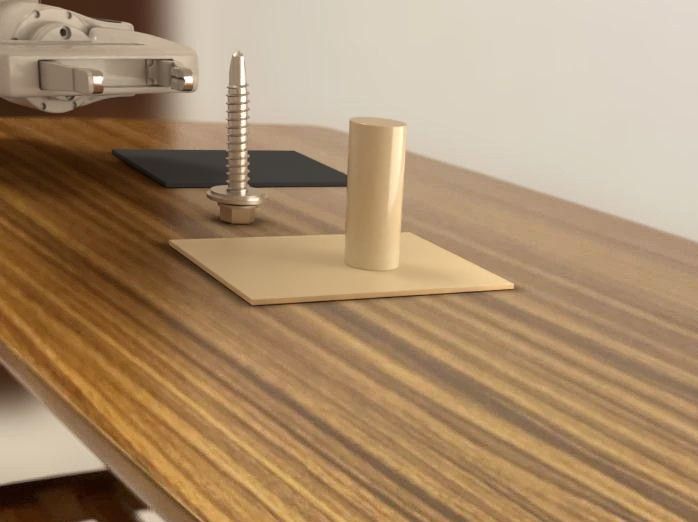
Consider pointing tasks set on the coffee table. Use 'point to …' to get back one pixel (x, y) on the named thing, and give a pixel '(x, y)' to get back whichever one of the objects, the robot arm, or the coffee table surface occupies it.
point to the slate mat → (212, 168)
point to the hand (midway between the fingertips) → (145, 82)
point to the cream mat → (330, 269)
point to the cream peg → (374, 193)
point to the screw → (237, 153)
